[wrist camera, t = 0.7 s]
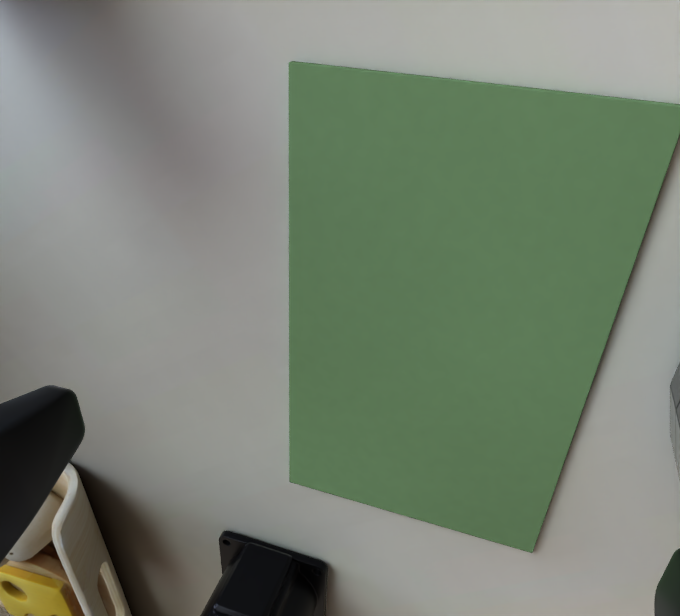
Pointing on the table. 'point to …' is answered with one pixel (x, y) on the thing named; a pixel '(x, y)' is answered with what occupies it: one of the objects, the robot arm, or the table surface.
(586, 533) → the table surface
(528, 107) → the cloth
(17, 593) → the toy food set
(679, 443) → the pan
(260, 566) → the robot arm
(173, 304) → the table surface
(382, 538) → the table surface
